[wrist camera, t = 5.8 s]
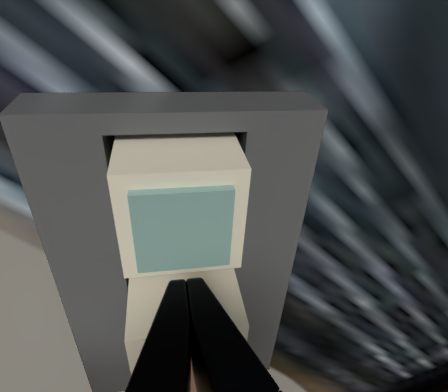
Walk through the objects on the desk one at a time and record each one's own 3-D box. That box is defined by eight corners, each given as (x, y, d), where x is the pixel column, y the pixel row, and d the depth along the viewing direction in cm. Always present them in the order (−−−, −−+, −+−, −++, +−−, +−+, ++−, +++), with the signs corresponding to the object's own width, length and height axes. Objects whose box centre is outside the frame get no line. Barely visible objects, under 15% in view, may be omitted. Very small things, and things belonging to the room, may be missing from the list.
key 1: (230, 124, 12) (254, 174, 9) (224, 211, 15) (242, 273, 12) (117, 126, 12) (105, 181, 9) (129, 218, 14) (123, 285, 11)
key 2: (230, 255, 14) (251, 333, 11) (225, 316, 16) (241, 395, 13) (129, 264, 13) (123, 350, 10) (139, 326, 15) (136, 411, 12)
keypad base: (306, 91, 13) (328, 109, 11) (260, 339, 22) (268, 369, 20) (20, 92, 11) (-2, 115, 10) (98, 360, 20) (93, 395, 19)
